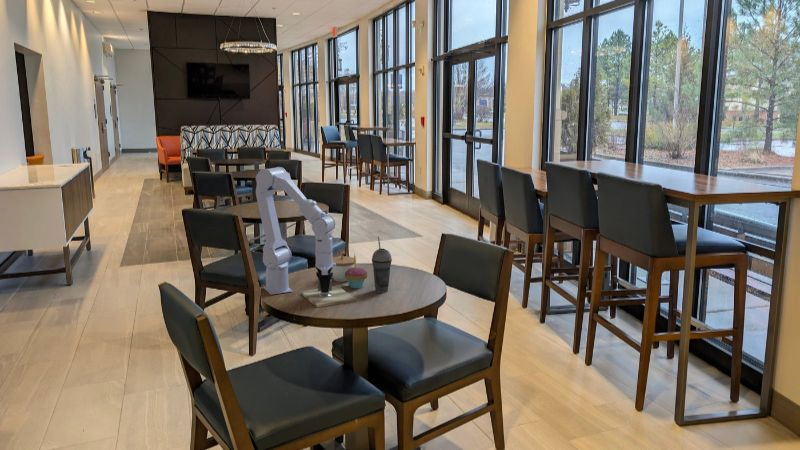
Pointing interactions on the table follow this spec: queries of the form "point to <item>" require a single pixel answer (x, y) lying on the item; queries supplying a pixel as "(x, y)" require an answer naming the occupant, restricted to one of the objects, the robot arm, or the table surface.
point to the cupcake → (355, 276)
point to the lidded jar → (341, 267)
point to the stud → (325, 294)
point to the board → (336, 297)
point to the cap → (329, 286)
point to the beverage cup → (381, 269)
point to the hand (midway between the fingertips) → (324, 289)
